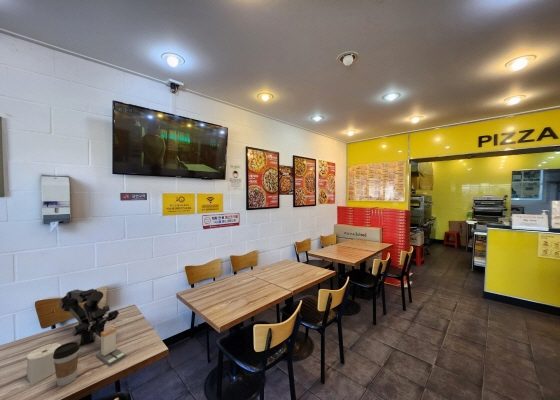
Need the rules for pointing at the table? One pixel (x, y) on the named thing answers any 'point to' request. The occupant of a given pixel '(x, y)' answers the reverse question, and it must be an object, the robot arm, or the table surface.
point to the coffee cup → (66, 362)
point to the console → (111, 357)
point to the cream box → (108, 341)
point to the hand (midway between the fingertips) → (102, 336)
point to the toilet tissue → (41, 363)
